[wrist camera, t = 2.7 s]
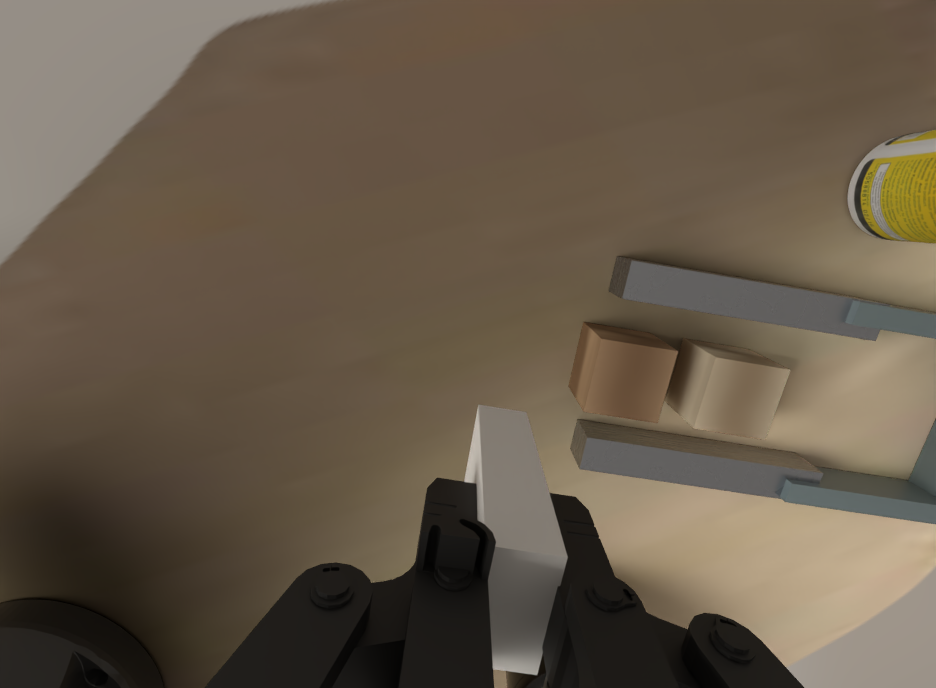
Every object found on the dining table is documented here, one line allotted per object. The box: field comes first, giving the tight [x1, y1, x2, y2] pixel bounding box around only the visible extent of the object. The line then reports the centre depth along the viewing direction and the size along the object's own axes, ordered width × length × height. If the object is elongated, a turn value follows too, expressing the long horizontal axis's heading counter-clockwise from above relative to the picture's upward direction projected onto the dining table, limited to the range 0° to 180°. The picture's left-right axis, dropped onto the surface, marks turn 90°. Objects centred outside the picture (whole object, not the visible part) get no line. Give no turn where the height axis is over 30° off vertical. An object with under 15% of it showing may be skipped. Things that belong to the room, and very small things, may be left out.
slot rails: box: [570, 256, 890, 499], centre depth 28 cm, size 14×12×2 cm
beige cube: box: [665, 338, 790, 440], centre depth 28 cm, size 4×4×4 cm
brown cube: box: [569, 322, 678, 423], centre depth 27 cm, size 4×4×4 cm
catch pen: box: [780, 300, 936, 524], centre depth 29 cm, size 11×12×3 cm
